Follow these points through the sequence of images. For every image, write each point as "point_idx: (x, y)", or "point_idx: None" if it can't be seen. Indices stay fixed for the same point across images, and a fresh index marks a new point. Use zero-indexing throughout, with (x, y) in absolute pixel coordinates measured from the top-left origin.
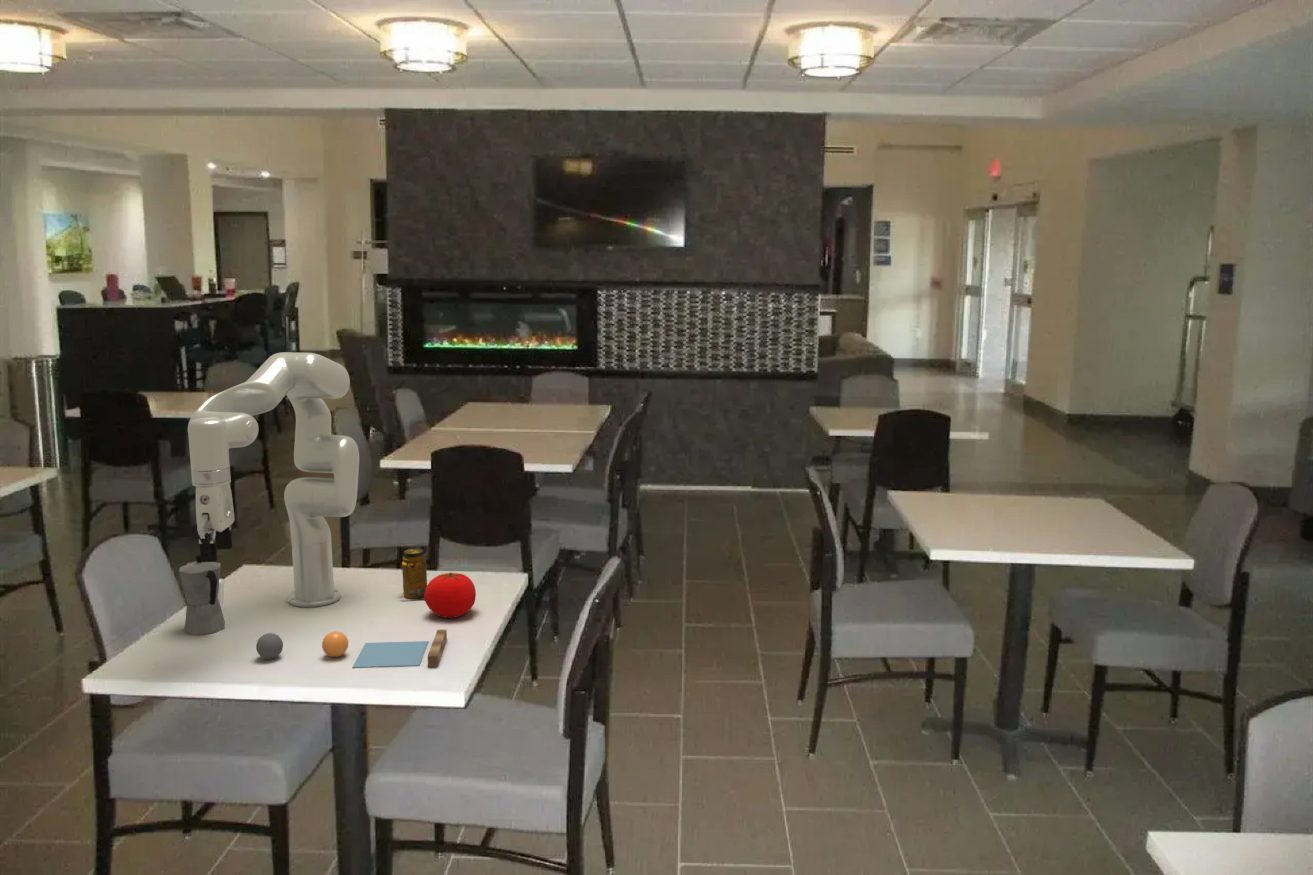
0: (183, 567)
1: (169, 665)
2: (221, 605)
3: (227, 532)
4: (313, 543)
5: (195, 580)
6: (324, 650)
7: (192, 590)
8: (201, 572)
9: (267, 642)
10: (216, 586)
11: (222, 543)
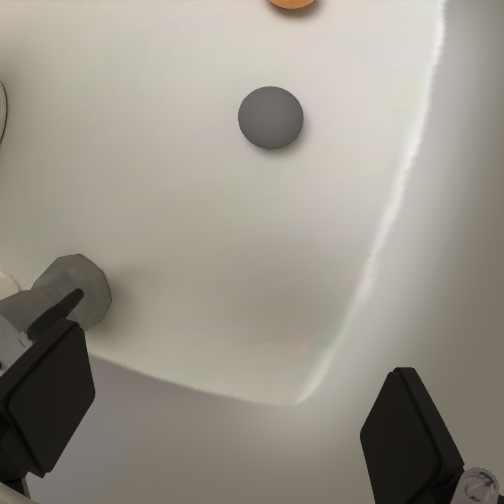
0: None
1: (264, 319)
2: (3, 276)
3: (19, 417)
4: None
5: None
6: (307, 4)
7: None
8: None
9: (299, 116)
10: (62, 301)
11: (74, 391)
